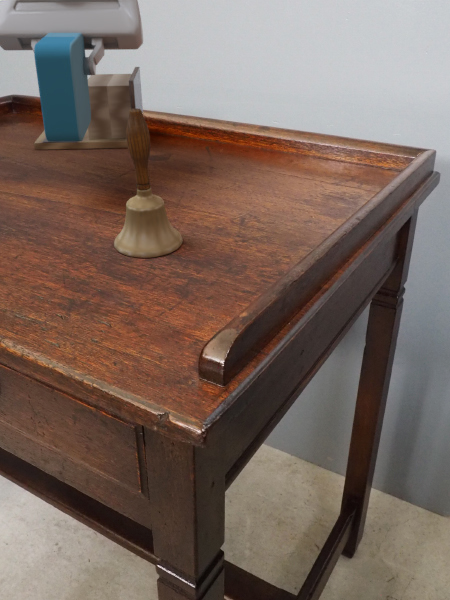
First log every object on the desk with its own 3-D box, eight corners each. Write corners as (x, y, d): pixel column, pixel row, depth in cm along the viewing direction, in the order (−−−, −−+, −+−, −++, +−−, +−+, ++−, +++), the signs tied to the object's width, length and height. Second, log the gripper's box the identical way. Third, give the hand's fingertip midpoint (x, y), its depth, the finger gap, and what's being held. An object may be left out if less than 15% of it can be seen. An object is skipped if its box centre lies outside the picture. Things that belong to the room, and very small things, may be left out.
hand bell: (152, 264, 70) (141, 123, 62) (99, 247, 74) (82, 112, 66) (196, 238, 76) (191, 106, 68) (145, 223, 80) (134, 96, 72)
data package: (60, 120, 90) (49, 31, 84) (91, 120, 90) (83, 31, 84) (46, 144, 79) (32, 45, 73) (81, 144, 80) (70, 45, 74)
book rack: (35, 149, 107) (23, 83, 102) (50, 129, 118) (41, 67, 113) (138, 147, 108) (133, 81, 102) (144, 127, 119) (139, 66, 113)
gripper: (-12, -31, 84) (-19, 59, 80) (140, -31, 84) (139, 57, 81) (3, 2, 90) (-3, 87, 86) (145, 1, 90) (144, 85, 87)
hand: (67, 72), depth 84 cm, fingers closed on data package, 4 cm apart
